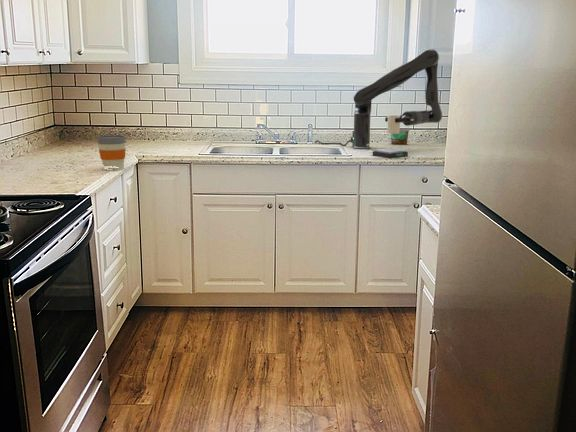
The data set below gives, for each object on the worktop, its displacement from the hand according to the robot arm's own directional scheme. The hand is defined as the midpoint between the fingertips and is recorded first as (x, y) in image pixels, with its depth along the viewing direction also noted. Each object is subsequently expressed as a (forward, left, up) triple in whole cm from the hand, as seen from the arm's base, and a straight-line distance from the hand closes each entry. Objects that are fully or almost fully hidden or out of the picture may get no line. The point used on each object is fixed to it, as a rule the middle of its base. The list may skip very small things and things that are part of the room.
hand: (390, 120), depth 321 cm
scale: (+1, 0, -19) cm, 19 cm away
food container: (-29, +38, -19) cm, 51 cm away
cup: (0, +2, -7) cm, 7 cm away
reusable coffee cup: (-51, -131, -19) cm, 142 cm away
